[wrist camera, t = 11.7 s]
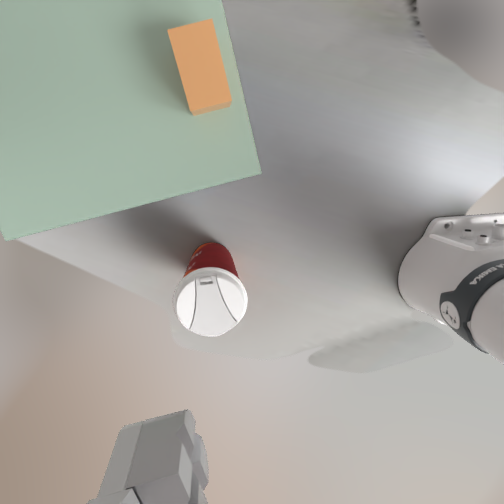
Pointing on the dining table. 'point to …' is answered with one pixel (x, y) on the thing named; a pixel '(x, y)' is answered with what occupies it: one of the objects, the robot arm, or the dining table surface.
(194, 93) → the lid
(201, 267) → the coffee cup
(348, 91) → the dining table surface
